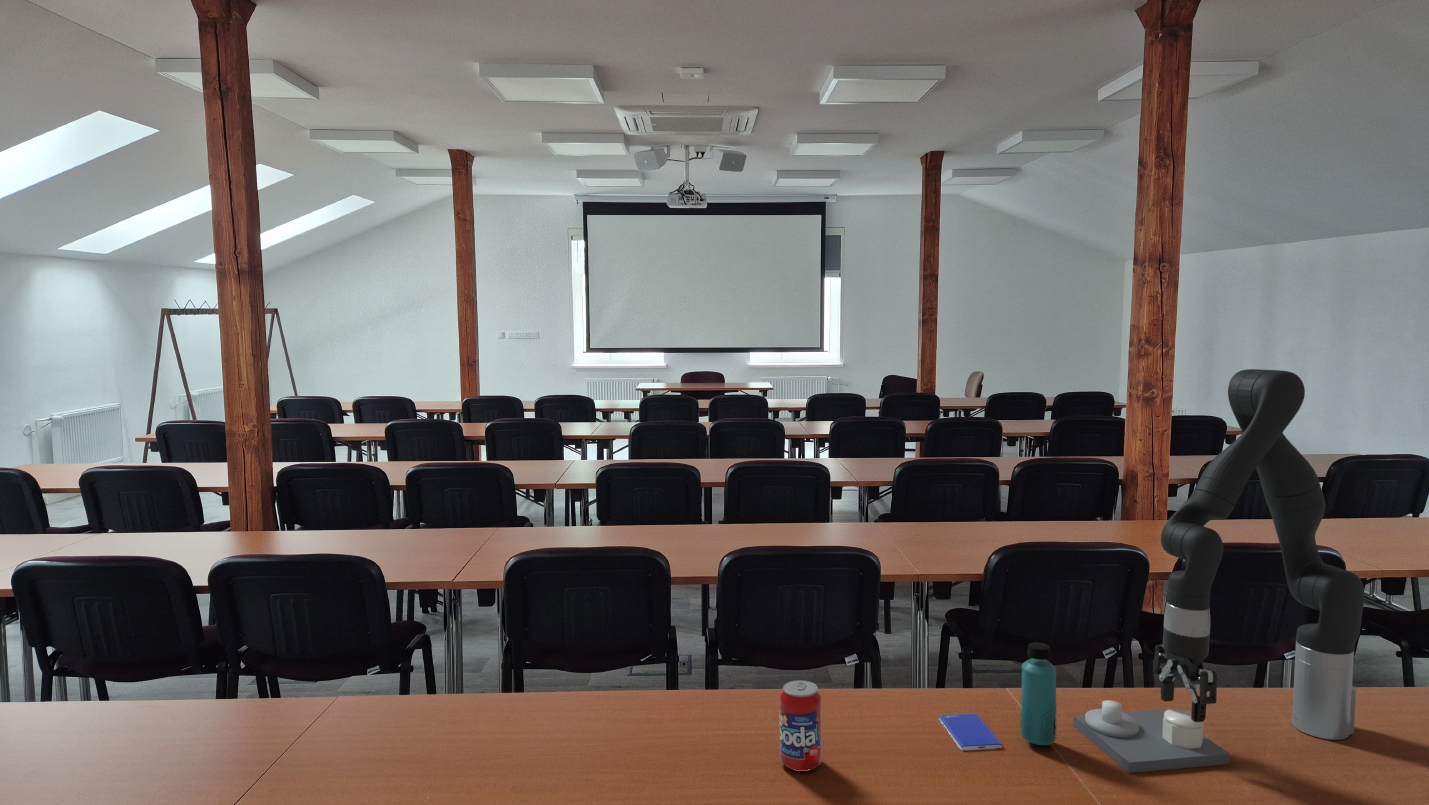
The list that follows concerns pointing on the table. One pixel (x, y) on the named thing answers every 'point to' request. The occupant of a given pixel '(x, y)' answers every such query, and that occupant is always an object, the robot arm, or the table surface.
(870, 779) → the table surface
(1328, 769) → the table surface
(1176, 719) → the cap
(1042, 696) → the beverage bottle
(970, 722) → the hard drive
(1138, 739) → the threaded post stand
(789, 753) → the soda can
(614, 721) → the table surface
